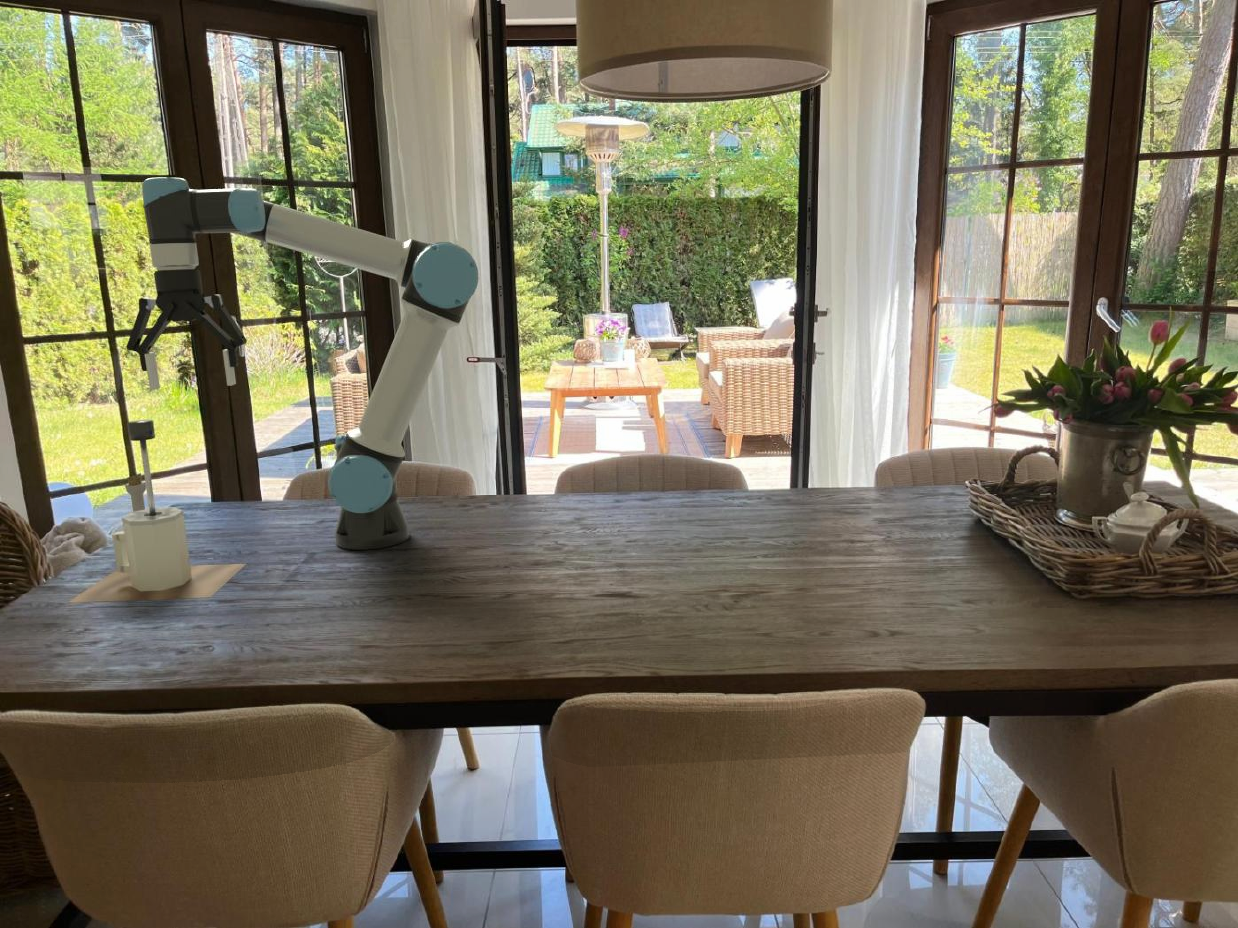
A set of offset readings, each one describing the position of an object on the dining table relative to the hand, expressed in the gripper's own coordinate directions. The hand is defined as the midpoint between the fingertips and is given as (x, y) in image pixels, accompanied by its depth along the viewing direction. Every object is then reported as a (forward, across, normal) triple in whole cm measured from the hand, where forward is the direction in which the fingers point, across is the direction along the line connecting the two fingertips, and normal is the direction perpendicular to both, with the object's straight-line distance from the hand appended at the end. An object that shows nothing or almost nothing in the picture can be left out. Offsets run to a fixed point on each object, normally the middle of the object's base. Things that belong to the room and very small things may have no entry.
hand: (193, 387), depth 167 cm
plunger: (+24, +7, +9) cm, 27 cm away
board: (+36, +7, +9) cm, 37 cm away
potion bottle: (+36, +17, -9) cm, 41 cm away
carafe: (+34, +8, +9) cm, 36 cm away
